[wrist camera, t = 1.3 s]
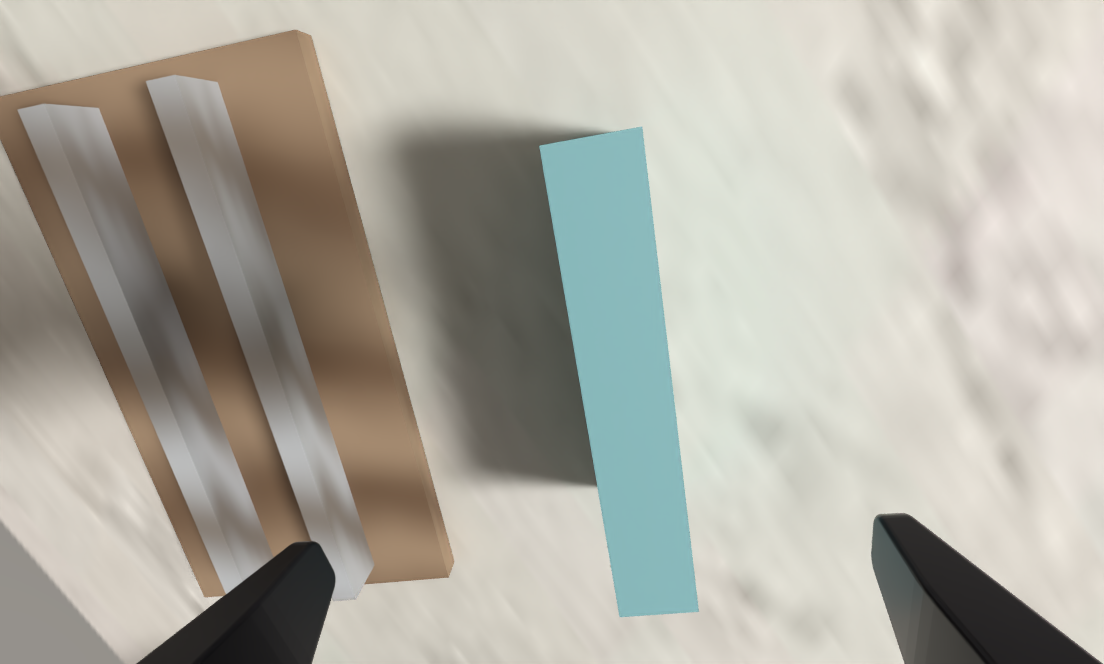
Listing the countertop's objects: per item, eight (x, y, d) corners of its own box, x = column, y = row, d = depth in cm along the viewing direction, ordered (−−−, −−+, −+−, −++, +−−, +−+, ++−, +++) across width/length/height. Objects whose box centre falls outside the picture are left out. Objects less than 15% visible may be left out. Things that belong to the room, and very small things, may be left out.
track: (454, 561, 26) (436, 613, 23) (218, 581, 27) (173, 632, 24) (311, 35, 19) (259, 15, 16) (11, 102, 21) (-83, 95, 18)
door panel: (671, 480, 23) (698, 611, 17) (614, 486, 24) (619, 617, 17) (628, 133, 19) (641, 126, 13) (560, 146, 20) (539, 145, 13)
